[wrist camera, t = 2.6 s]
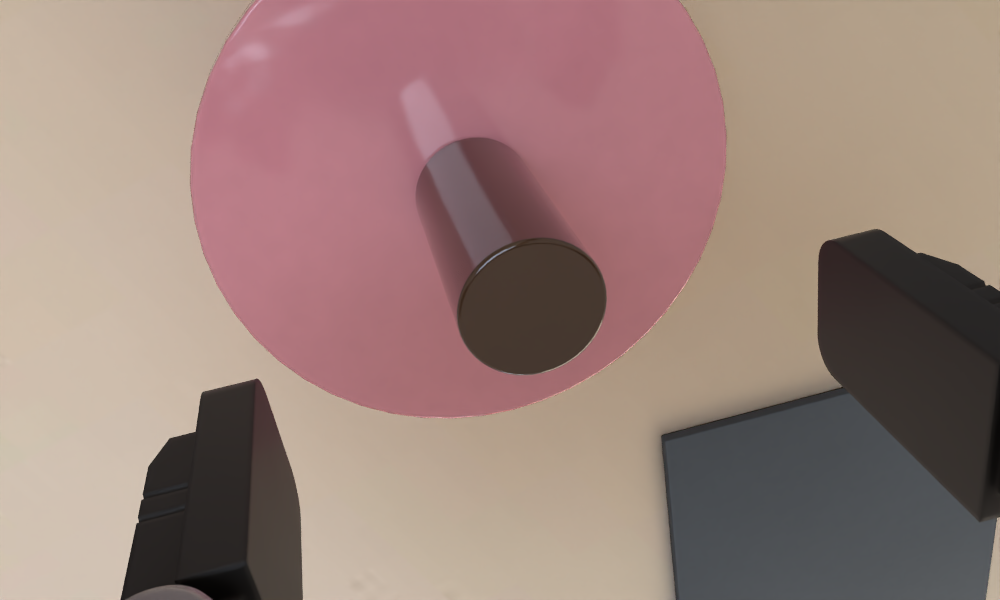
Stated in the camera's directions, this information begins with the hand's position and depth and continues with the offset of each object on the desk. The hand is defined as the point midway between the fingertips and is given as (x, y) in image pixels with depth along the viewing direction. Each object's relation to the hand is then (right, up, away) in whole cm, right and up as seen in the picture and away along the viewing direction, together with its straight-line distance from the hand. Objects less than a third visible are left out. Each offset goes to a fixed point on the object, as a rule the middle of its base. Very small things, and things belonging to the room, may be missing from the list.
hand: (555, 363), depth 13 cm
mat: (+13, -11, +26) cm, 31 cm away
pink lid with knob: (-1, +3, +6) cm, 7 cm away
